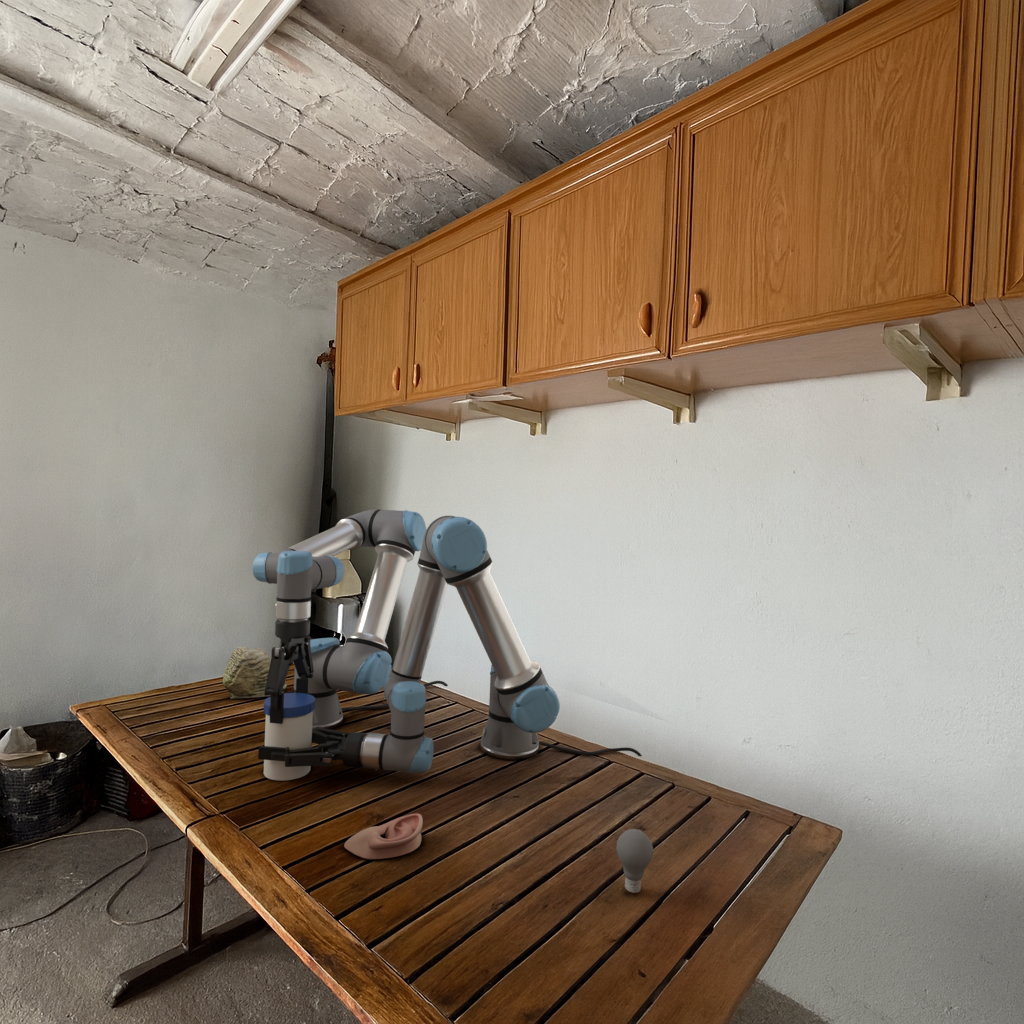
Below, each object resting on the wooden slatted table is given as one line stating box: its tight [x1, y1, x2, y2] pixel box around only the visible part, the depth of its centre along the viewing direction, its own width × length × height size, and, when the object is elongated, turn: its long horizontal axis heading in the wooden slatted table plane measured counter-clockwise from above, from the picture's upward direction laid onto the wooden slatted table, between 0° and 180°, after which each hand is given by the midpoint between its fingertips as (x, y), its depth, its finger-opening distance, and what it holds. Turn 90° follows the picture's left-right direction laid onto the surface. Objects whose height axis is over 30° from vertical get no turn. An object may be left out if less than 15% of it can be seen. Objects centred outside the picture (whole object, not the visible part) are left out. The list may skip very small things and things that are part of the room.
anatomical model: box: [343, 813, 424, 860], centre depth 117 cm, size 13×4×12 cm
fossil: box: [222, 646, 288, 699], centre depth 198 cm, size 9×18×15 cm, turn 132°
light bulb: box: [615, 828, 654, 894], centre depth 106 cm, size 6×6×10 cm
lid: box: [263, 692, 315, 718], centre depth 145 cm, size 11×11×2 cm
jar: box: [263, 711, 313, 782], centre depth 145 cm, size 10×10×16 cm
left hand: (289, 714), depth 145 cm, fingers closed on lid, 11 cm apart
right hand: (270, 743), depth 146 cm, fingers closed on jar, 10 cm apart
